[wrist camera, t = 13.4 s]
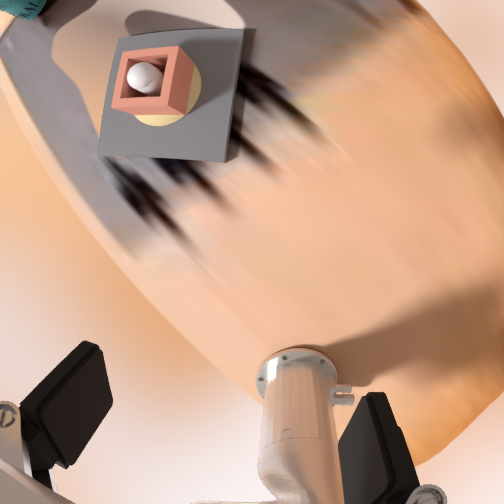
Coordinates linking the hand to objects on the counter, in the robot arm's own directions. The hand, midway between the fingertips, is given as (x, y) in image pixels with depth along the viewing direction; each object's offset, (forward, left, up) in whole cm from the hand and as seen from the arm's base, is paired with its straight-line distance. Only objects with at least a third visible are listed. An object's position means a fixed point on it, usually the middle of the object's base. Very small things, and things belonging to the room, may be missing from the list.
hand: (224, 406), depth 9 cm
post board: (+15, -17, -28) cm, 36 cm away
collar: (+15, -17, -26) cm, 35 cm away
